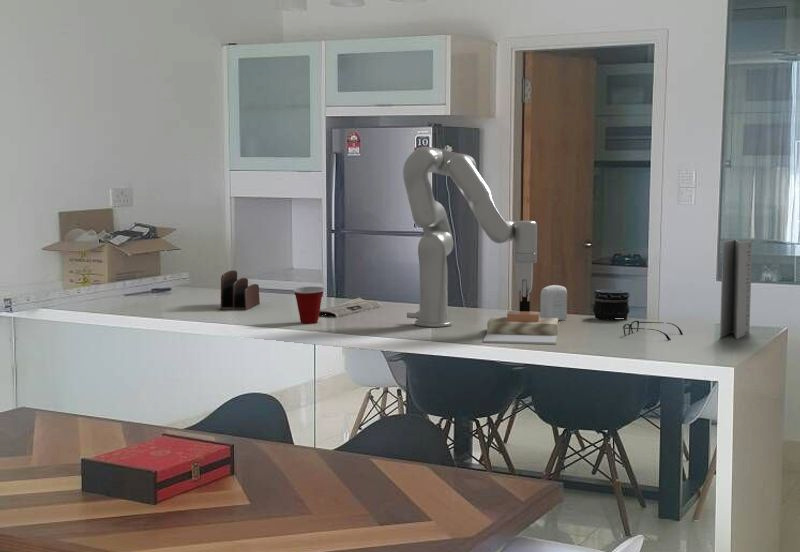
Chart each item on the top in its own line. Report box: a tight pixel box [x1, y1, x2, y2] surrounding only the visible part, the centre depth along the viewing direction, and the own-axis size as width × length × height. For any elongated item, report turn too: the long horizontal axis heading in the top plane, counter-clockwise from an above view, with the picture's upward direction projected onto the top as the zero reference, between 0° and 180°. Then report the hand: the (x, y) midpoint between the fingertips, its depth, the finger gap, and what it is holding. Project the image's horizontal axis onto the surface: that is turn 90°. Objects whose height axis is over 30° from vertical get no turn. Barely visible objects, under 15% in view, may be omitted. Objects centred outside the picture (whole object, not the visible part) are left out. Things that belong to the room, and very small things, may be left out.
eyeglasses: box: [622, 320, 684, 341], centre depth 340 cm, size 16×16×4 cm
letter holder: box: [220, 270, 261, 312], centre depth 411 cm, size 10×20×14 cm, turn 172°
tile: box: [506, 310, 540, 322], centre depth 346 cm, size 10×7×2 cm
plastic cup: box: [292, 286, 325, 325], centre depth 368 cm, size 11×11×12 cm
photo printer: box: [539, 284, 568, 321], centre depth 374 cm, size 10×4×12 cm, turn 123°
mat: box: [482, 333, 558, 346], centre depth 331 cm, size 22×14×1 cm, turn 81°
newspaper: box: [319, 297, 383, 319], centre depth 400 cm, size 35×12×4 cm, turn 152°
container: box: [592, 289, 631, 321], centre depth 379 cm, size 13×13×10 cm
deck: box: [486, 316, 559, 337], centre depth 346 cm, size 22×14×4 cm, turn 81°
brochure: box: [719, 239, 753, 340], centre depth 339 cm, size 14×6×30 cm, turn 148°
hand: (524, 313), depth 355 cm, fingers closed
